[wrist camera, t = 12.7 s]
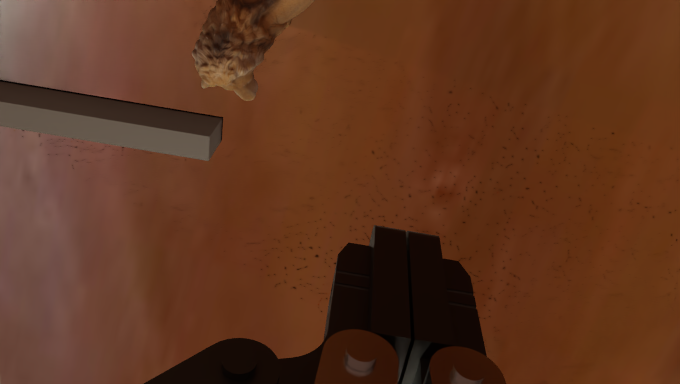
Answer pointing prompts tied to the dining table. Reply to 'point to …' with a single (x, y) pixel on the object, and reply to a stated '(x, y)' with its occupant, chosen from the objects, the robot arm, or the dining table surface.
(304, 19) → the dining table surface
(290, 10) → the lion figurine
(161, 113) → the bay
